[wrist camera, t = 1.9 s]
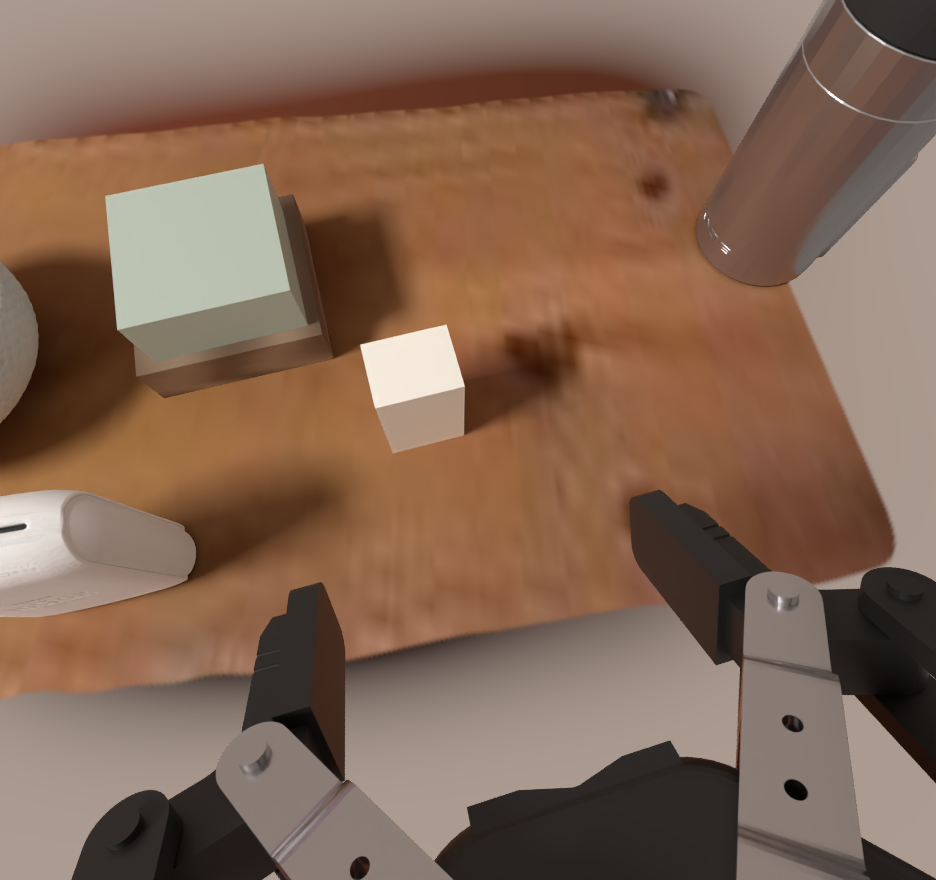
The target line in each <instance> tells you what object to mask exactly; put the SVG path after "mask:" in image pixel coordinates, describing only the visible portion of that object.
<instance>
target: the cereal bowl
mask: <svg viewBox="0 0 936 880" xmlns="http://www.w3.org/2000/svg"><path fill="white" fill-rule="evenodd" d="M38 338H39V334H38V324H37V322H36V314H35V313H34V311H33V307H32V304H31V302H30V301H29V298H28V295H27V293H26V292H25V291H24V290H23V288H22V286H21V284H20V283H19V282H18V281H17V280H16V278H15V276H14V275H13V274H12V273H11V272H10V271H9V270H8V269H7V267H6V266H5V265H3V264H2V263H1V262H0V423H1V422H2V420H4V419H5V418H6V417H7V415H8V414H10V412H11V410H12V409H13V408H14V407H15V406H16V404H17V403H18V402H19V400H20V397H21V396H22V394H23V392H24V391H25V390H26V387H27V385H28V383H29V380H30V379H31V375H32V372H33V370H34V367H35V365H36V359H37V353H38V345H39V344H38Z"/></svg>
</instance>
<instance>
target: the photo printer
mask: <svg viewBox="0 0 936 880" xmlns="http://www.w3.org/2000/svg"><path fill="white" fill-rule="evenodd" d="M195 560H196V547H195V543H194V541H193V539H192V538H191V536H190V535H189V534H188V533H186V532H185V528H184V526H183V525H181V524H179V523H176V522H174V521H171V520H168V519H165V518H162V517H159V516H156V515H153V514H150V513H147V512H145V511H142V510H139V509H136V508H133V507H130V506H127V505H124V504H122V503H119V502H116V501H113V500H110V499H107V498H104V497H101V496H99V495H96V494H93V493H90V492H87V491H76V490H45V491H36V492H27V493H21V494H13V495H7V496H1V497H0V617H41V616H50V615H57V614H62V613H67V612H72V611H77V610H82V609H86V608H91V607H96V606H100V605H104V604H108V603H113V602H117V601H121V600H125V599H129V598H133V597H136V596H140V595H144V594H148V593H151V592H155V591H159V590H162V589H166V588H169V587H172V586H174V585H177V584H180V583H182V582H184V581H186V580H187V579H188V576H187V575H188V574H189V573H190V572H191V571H192V569H193V566H194V564H195Z"/></svg>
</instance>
